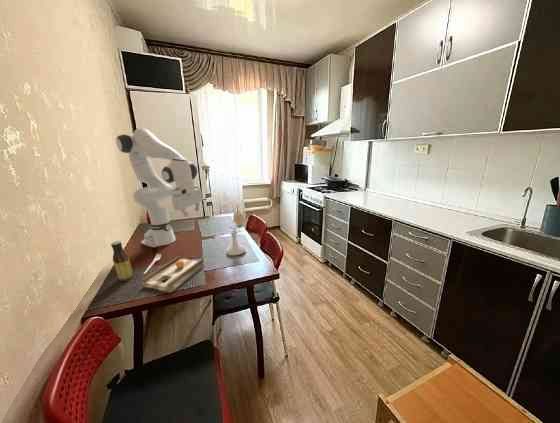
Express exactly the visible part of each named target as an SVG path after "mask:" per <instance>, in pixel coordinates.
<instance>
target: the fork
mask: <svg viewBox="0 0 560 423" xmlns="http://www.w3.org/2000/svg"><path fill="white" fill-rule="evenodd" d="M161 257H162V254H161V253H159V254H155V257H154V259H153V260H152V262H151V263H150V264H149V266H148V267H147V269H146V270H145V271H144V272H143V274H144V275H145V274H146V273H147V272H148V271H149V270H150V269H151V268H152V266H153V265H154V264H155V262H157V261H159V260H160V259H161Z"/></svg>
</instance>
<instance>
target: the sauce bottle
mask: <svg viewBox="0 0 560 423" xmlns="http://www.w3.org/2000/svg"><path fill="white" fill-rule="evenodd" d="M110 245H111V248H112V250H113V251H112V252H113V254H112V263H113V265H114V269H115V271H116V275H117V278H118V280H119V282H126V281H129V280H131V279H132V278H133V277H134V274H133V269H132V266H131V262H130V259H129V256H128V253H127V252H126V251H125V250H124V248H123V243H122V241H119V240H118V241H113V242H112V243H111V244H110Z"/></svg>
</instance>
